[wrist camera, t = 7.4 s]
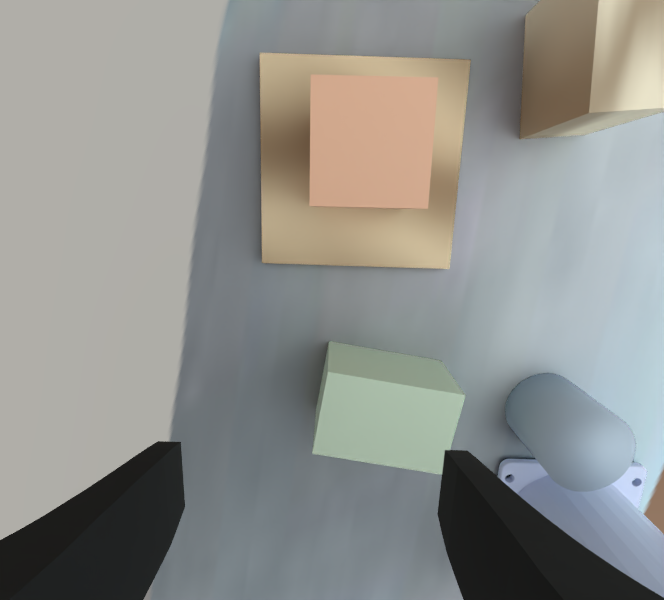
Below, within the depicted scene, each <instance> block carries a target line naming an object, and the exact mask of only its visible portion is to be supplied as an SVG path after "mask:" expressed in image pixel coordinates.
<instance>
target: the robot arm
mask: <svg viewBox="0 0 664 600" xmlns="http://www.w3.org/2000/svg"><path fill="white" fill-rule="evenodd" d="M510 474H511V476H510V477H508V478H505V477H506V476H507V475H510ZM646 476H647V470H646V468H645V467H643V466H642V465H641V464H639V463H635V462H632V463H631V465H630V467H629V468H628V470H627V471H626V472H625V473H624V475H622V476H621V477H620V478H619V479H618V480H617V481H615V482H614V483H612V484H611V485H609V486H606V487H604V488H602V489H599V490H595V491H588V492H579V491H572V490H569V489H566V488H564V487H562V486H560V485H558V484H557V483H556V482H555V481H554V480H552V478H551V477H550V476H549V475H548V473H547V472H546V471H545V470H544V468H543V467H542V466H541V465H540V463H539V462H538V461H537V460H536V459H505V460H503V461H502V462H501V463H500V466H499V471H498V477H497V476H496V475H495V474H494V473H493V472H492V471H490V470H489V469H488V468H487V467H486V466H485V465H484V464H482V463H481V462H480V461H479V460H478V459H477V458H476V457H474V456H473V455H472V454H471V453H469V452H468V451H458V450H445V454H444V463H443V471H442V480H441V489H440V498H439V507H438V517H439V521H440V526H441V530H442V535H443V539H444V543H445V547H446V551H447V554H448V557H449V560H450V563H451V566H452V569H453V571H454V574H455V577H456V580H457V583H458V585H459V588H460V591H461V594H462V597H463V599H464V600H664V534H663V533H662V532H661V531H660V530H659V529H658V528H657V527H656V526H655V525H654V524H653V523H652V522H651V521H650V520H649V519H648V518H647V517H646V516H645V515H644V514H643V513H642V512H641V511H640V510H639V509H638V508H639V504H640V500H641V496H642V492H643V488H644V484H645V480H646ZM634 479H635V480H634ZM633 480H634V481H633ZM184 507H185V500H184V485H183V471H182V456H181V442H159V441H158V442H157V443H155V444H153V445H152V446H150V447H148V448H147V449H145V450H144V451H142V452H141V453H139V454H138V455H136V456H135V457H133V458H132V459H130V460H129V461H128V462H126V463H125V464H123V465H122V466H120V467H119V468H117V469H116V470H115V471H113V472H111V473H110V474H108V475H107V476H105V477H104V478H103V479H101V480H100V481H98V482H97V483H95V484H94V485H92V486H91V487H89V488H88V489H86V490H84V491H83V492H81V493H80V494H78V495H76V496H75V497H73V498H72V499H70V500H68V501H67V502H65V503H64V504H62V505H60V506H59V507H57V508H56V509H54V510H52V511H51V512H49V513H48V514H46V515H45V516H43V517H41V518H40V519H38V520H36V521H34V522H32V523H31V524H29V525H27V526H25V527H24V528H22V529H20V530H18V531H16V532H15V533H13V534H11V535H9V536H7V537H5V538H3V539H2V540H0V600H143V599H144V597H145V595H146V593H147V591H148V589H149V587H150V586H151V584H152V582H153V580H154V578H155V576H156V574H157V572H158V570H159V568H160V566H161V564H162V562H163V560H164V558H165V556H166V554H167V552H168V549H169V547H170V545H171V543H172V540H173V538H174V535H175V532H176V530H177V527H178V524H179V522H180V519H181V516H182V513H183V510H184Z"/></svg>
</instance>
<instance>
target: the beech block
mask: <svg viewBox="0 0 664 600" xmlns="http://www.w3.org/2000/svg"><path fill="white" fill-rule="evenodd" d="M661 112H664V0H540V1H539V2H538V3H537V4H536V5H535V6H534V7H533V8H532V9H531V10H530V11H529V12H528V13H527V14H526V17H525V38H524V58H523V79H522V99H521V120H520V139H531V138H547V137H562V136H578V135H587V134H590V133H594V132H597V131H600V130H604V129H607V128H611V127H614V126H617V125H621V124H624V123H627V122H631V121H634V120H637V119H641V118H644V117H648V116H651V115H654V114H658V113H661Z"/></svg>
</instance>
